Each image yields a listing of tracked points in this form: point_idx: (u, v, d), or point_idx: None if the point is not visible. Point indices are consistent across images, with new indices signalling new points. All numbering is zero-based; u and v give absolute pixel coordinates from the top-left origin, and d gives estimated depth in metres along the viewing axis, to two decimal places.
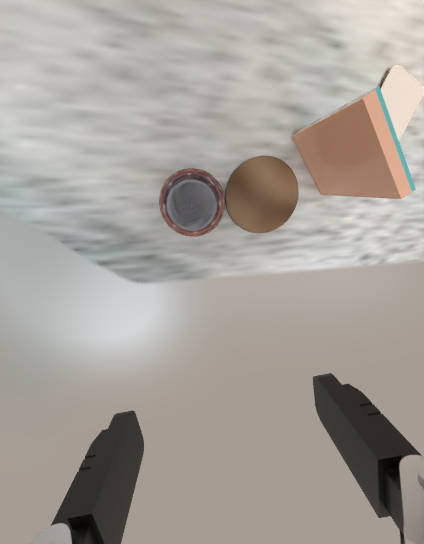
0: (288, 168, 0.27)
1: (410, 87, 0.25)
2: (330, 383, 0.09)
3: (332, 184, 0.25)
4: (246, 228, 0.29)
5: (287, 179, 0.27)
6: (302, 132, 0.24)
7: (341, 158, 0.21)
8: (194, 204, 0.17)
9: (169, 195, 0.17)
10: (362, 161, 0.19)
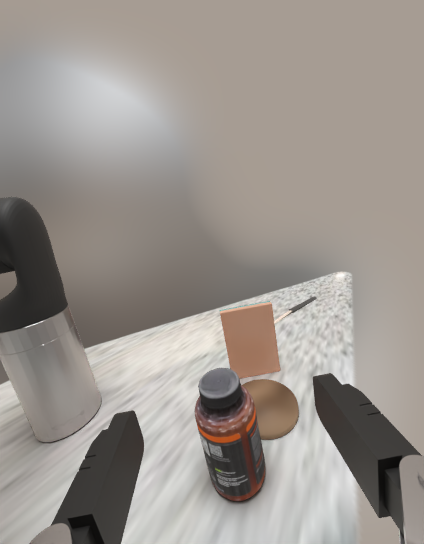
0: (250, 382, 0.35)
1: None
2: (330, 383, 0.09)
3: (269, 353, 0.36)
4: (288, 424, 0.27)
5: (257, 384, 0.34)
6: (230, 365, 0.37)
7: (249, 337, 0.36)
8: (218, 379, 0.22)
9: (201, 391, 0.21)
10: (250, 322, 0.35)
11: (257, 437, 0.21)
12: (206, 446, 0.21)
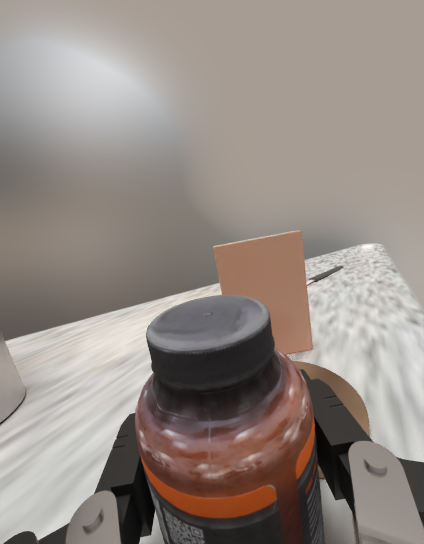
0: None
1: None
2: None
3: (295, 319, 0.22)
4: None
5: None
6: None
7: (262, 291, 0.21)
8: (208, 311, 0.08)
9: (151, 336, 0.06)
10: (265, 264, 0.21)
11: (318, 489, 0.07)
12: (159, 515, 0.06)
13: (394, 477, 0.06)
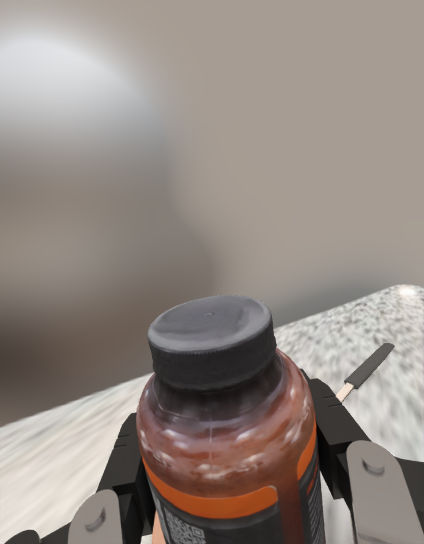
0: None
1: None
2: None
3: None
4: None
5: None
6: None
7: None
8: (209, 311, 0.08)
9: (152, 336, 0.06)
10: None
11: (319, 490, 0.07)
12: (160, 515, 0.06)
13: (392, 477, 0.06)
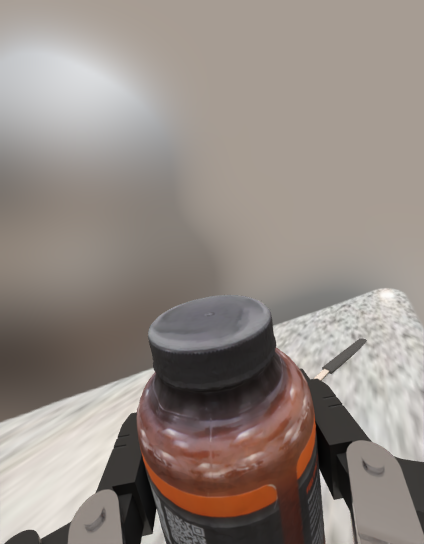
0: None
1: None
2: None
3: None
4: None
5: None
6: None
7: None
8: (209, 310, 0.08)
9: (153, 336, 0.07)
10: None
11: None
12: (160, 513, 0.06)
13: (392, 477, 0.06)
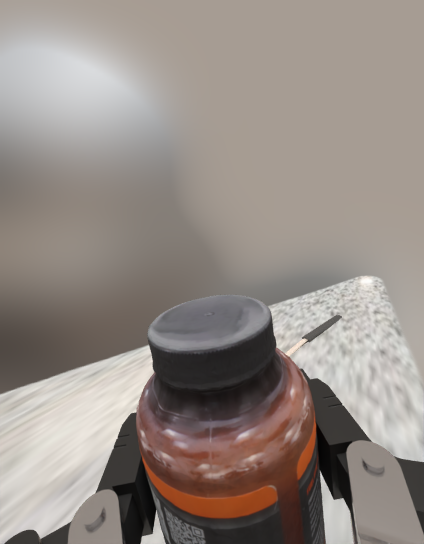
0: None
1: None
2: None
3: None
4: None
5: None
6: None
7: None
8: (209, 310, 0.08)
9: (152, 336, 0.06)
10: None
11: (319, 490, 0.07)
12: (160, 514, 0.06)
13: (392, 477, 0.06)
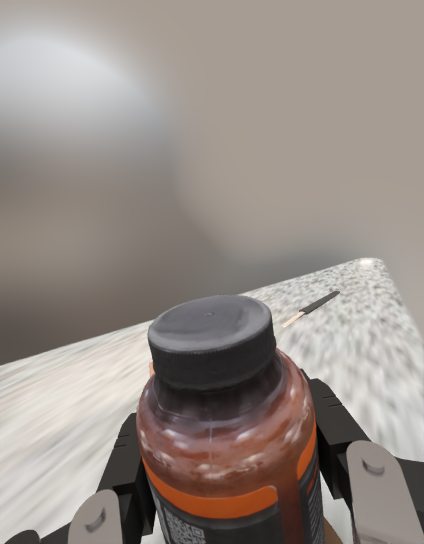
0: None
1: None
2: None
3: None
4: None
5: None
6: None
7: None
8: (209, 311, 0.08)
9: (152, 336, 0.06)
10: None
11: (319, 490, 0.07)
12: (160, 515, 0.06)
13: (392, 477, 0.06)
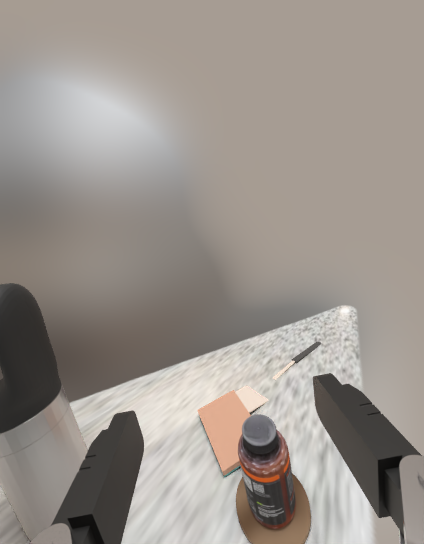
0: None
1: (241, 391, 0.48)
2: (330, 383, 0.09)
3: None
4: (300, 538, 0.25)
5: None
6: (216, 453, 0.35)
7: (225, 419, 0.40)
8: (258, 426, 0.26)
9: (246, 438, 0.25)
10: (222, 407, 0.42)
11: (290, 475, 0.26)
12: (249, 483, 0.25)
13: None
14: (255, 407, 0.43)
